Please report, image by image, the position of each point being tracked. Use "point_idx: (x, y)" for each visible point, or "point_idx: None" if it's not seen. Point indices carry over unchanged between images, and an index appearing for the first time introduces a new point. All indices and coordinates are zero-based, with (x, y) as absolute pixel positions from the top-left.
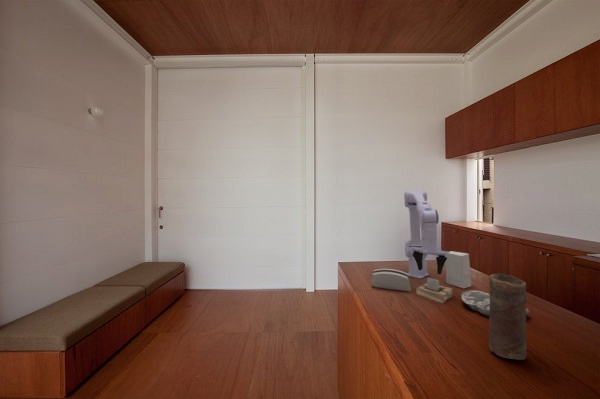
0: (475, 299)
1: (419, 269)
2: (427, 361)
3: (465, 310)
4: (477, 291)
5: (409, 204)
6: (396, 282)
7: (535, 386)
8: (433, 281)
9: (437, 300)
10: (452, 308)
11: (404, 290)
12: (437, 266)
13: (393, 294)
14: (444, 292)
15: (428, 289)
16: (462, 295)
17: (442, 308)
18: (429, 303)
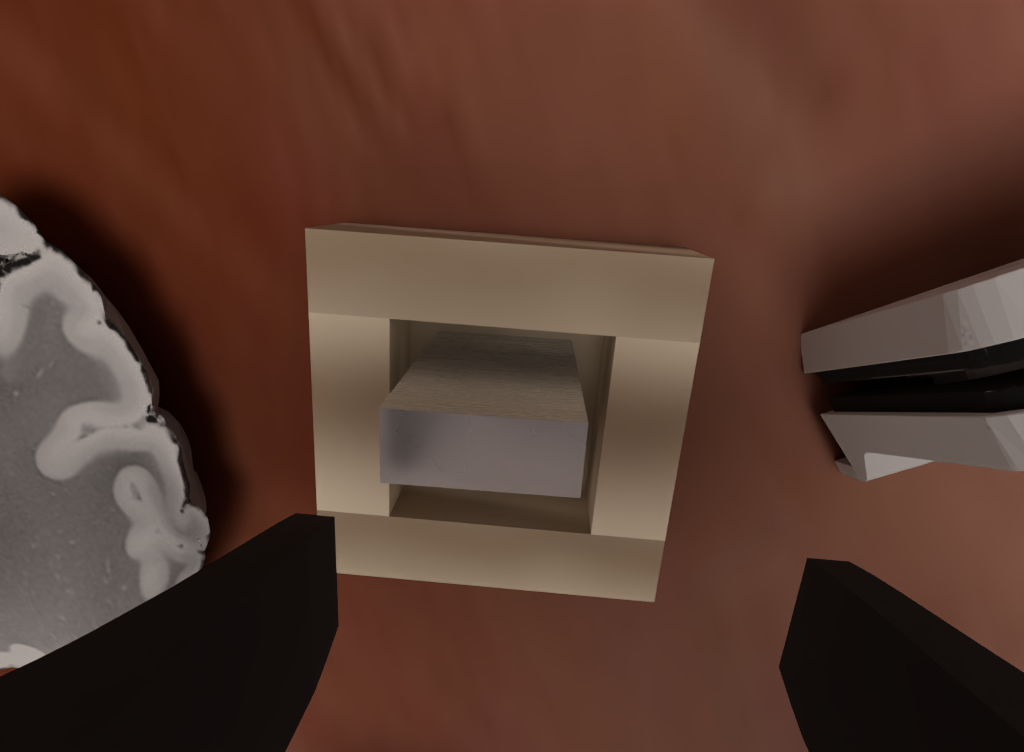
0: (8, 408)
1: (834, 567)
2: None
3: (93, 191)
4: None
5: None
6: None
7: None
8: (459, 403)
9: (406, 228)
10: (207, 140)
11: (883, 306)
12: (190, 646)
13: (998, 36)
14: (335, 367)
15: (556, 358)
16: (159, 440)
17: (283, 43)
18: (462, 89)
